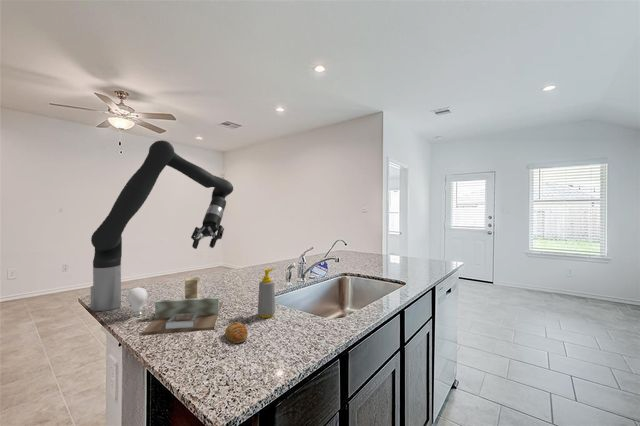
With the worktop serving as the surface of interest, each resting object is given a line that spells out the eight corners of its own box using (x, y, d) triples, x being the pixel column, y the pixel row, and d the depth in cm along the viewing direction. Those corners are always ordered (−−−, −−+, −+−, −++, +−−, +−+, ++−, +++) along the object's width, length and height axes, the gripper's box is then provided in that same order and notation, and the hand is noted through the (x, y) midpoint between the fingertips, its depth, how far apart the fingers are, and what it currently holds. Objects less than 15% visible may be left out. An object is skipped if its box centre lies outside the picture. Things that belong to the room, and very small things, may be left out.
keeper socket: (165, 329, 95) (165, 323, 95) (173, 319, 103) (173, 314, 103) (193, 327, 97) (193, 321, 97) (198, 318, 105) (198, 312, 105)
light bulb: (151, 315, 111) (151, 286, 110) (134, 321, 105) (134, 291, 104) (140, 312, 113) (140, 284, 113) (123, 318, 107) (122, 288, 107)
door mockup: (142, 335, 93) (142, 313, 93) (167, 307, 118) (167, 291, 118) (213, 329, 98) (213, 309, 98) (223, 304, 123) (223, 288, 123)
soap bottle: (279, 315, 111) (279, 269, 111) (264, 320, 106) (264, 272, 106) (268, 310, 116) (268, 266, 116) (253, 315, 111) (254, 269, 111)
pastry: (252, 341, 90) (252, 329, 90) (230, 347, 86) (230, 334, 86) (243, 330, 98) (243, 319, 98) (223, 335, 94) (222, 323, 94)
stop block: (184, 311, 112) (184, 280, 112) (187, 307, 117) (187, 277, 116) (197, 310, 113) (197, 280, 113) (199, 306, 118) (199, 277, 117)
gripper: (195, 213, 133) (183, 244, 124) (222, 211, 130) (212, 242, 120) (205, 222, 139) (193, 252, 130) (231, 220, 135) (221, 250, 126)
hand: (202, 247), depth 125 cm, fingers open, 8 cm apart
